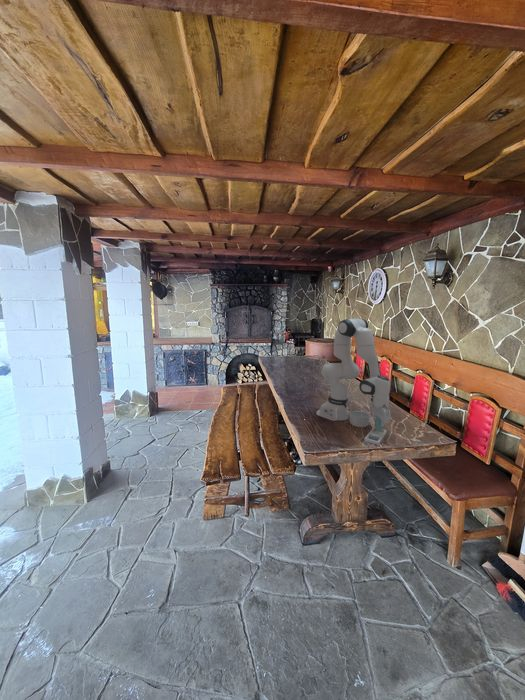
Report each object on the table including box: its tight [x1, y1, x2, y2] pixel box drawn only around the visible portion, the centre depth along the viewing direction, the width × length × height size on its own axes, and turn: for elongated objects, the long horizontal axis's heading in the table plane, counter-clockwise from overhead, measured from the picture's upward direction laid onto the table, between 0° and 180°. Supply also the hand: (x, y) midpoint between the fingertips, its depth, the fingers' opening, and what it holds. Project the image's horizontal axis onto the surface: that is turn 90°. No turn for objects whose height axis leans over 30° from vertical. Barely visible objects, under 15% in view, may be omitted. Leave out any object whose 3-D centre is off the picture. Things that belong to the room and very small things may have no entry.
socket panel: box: [363, 426, 388, 446], centre depth 169 cm, size 8×20×2 cm, turn 145°
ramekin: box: [348, 410, 371, 428], centre depth 187 cm, size 13×13×7 cm
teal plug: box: [375, 417, 384, 430], centre depth 172 cm, size 4×4×9 cm
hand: (379, 423), depth 173 cm, fingers closed on teal plug, 5 cm apart
